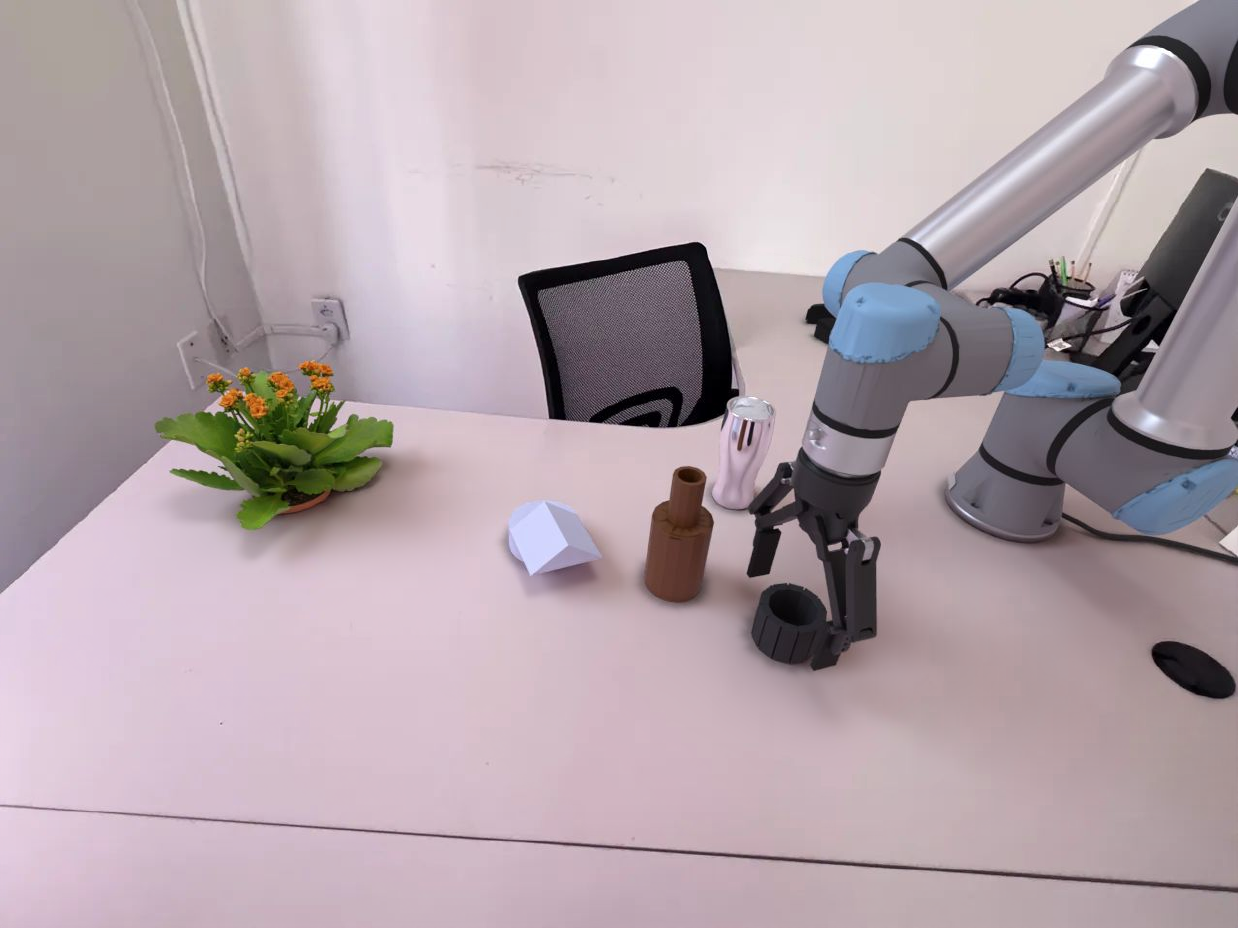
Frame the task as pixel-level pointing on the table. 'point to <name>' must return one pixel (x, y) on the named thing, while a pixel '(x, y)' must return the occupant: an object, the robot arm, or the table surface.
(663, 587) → the brown bottle
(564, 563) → the wedge on round base
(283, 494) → the potted flower
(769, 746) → the table surface
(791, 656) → the rubber collar
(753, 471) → the beer glass
